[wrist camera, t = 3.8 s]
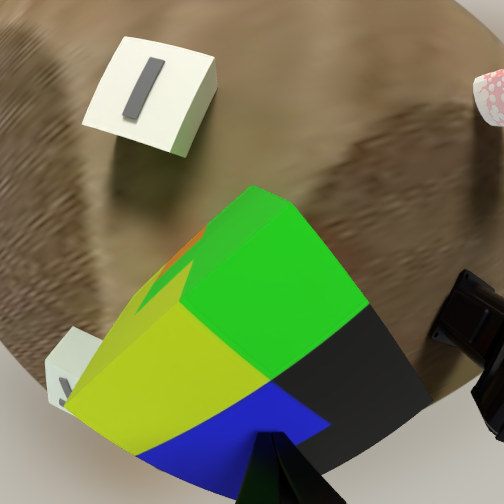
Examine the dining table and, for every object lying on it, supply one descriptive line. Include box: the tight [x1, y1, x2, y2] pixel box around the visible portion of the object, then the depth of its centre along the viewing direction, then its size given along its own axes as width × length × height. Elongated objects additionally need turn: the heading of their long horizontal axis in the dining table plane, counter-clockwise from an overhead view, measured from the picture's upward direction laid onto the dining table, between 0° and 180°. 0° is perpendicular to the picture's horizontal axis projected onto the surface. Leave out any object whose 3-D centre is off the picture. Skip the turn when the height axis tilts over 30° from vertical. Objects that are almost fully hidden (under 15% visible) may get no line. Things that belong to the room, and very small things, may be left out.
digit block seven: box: [45, 327, 103, 415], centre depth 16 cm, size 4×4×5 cm
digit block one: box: [82, 37, 218, 158], centre depth 12 cm, size 4×4×5 cm
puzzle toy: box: [63, 185, 433, 500], centre depth 13 cm, size 10×10×10 cm
